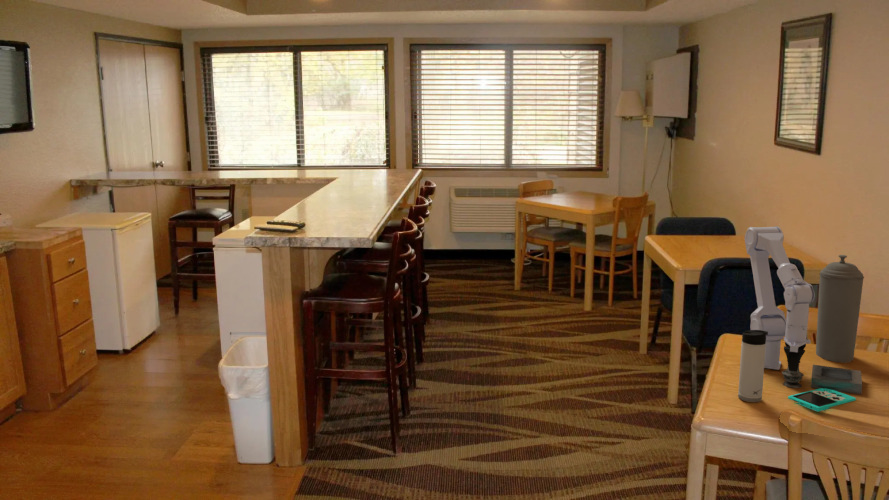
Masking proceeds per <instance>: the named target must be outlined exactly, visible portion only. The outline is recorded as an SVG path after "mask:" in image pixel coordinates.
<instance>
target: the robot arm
mask: <svg viewBox="0 0 889 500" xmlns="http://www.w3.org/2000/svg"><path fill="white" fill-rule="evenodd" d="M784 238H785V237H784V233H783V230H782V228H781V227H779V226H776V225H775V226H763V227H762V226H758V227H757V226H756V227H755V226H754V227H753V226H749V227H748V228H747V230H746V232H745V235H744V244H745V249H746V255H749V258H750V264H751V270H752V275H753V276H752V277H753V283H754V290H755V297H756V303H757V308H756V309H755V310H754V311H753V312H752V313H751V314H750V326H749V327H750V330H762V331H767V332H768V335H766V349H765V363H764V369H771V370H777V371H779V370H780V369H781V366H782V361H781V360H780V357H781V343H782V340H783V341H784V344H785V346H783V351H784V353H785V356H786V358H787V360H786V362H787V368H788V369H789V371H795V372H797V369H798V366H799V367H800V363H801V359H802V357H803V355H804V354H805V353H806V346H807V345H808V344H811V343H812V342H811V339H807V336H808V326H809V325H808V324H809V323H808V322H809V312H810V311H809V310H810V304H812V303H813V302H814V301H815V296H816V295H815V290H814V288H813V287H814V286H813V285H812V284H811V283H808V282H807V281H805V280H804V278H803V276H802V275H801V273H800V270H798V267H797V266H796V264H793V263H791V262H790V260H789V259H790V258H788V254H787V252H786V250H785V247H784ZM769 257H771V259H772V260H773V262H774V263H775V265H776V267H777V268H778V269H777V270H776V274H777V277H778V278H779V280H780V282H781V284H782V287H783V289H784V291H783V299H784V301H785V303H784V305H785V309H786V315H785V312H784V310H782V309H781V308H779V307H778V306H777V305H776V300H775V294H774V288H773V281H772V276H771V269H770V263H769ZM799 362H800V363H799Z"/></svg>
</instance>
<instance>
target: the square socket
mask: <svg viewBox="0 0 889 500" xmlns="http://www.w3.org/2000/svg"><path fill="white" fill-rule="evenodd" d="M810 379H811V380H810V388H814V389H820V388H827V389H831V390H835V391H838V392H841V393H849V394H855V395H862V389H863V380H862V370H857V369H849V368H848V369H847V368H841V367H833V366H827V365H826V366H825V365H820V364H819V365H817V364H812V369H811V377H810Z"/></svg>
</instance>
